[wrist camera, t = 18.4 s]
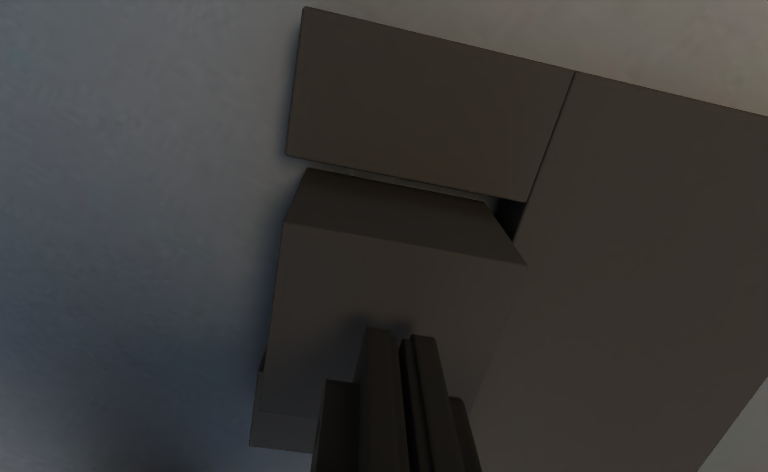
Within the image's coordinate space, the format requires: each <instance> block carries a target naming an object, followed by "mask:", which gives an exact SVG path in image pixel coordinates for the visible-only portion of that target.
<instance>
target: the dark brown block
mask: <svg viewBox="0 0 768 472" xmlns="http://www.w3.org/2000/svg"><path fill="white" fill-rule="evenodd" d="M527 270H528V265H527V263H526V262H525V260H524V259H523V257H522V256H521V254H520V253H519V252H518V250H517V249H516V247H515V246H514V244H513V243H512V241H511V240H510V239H509V237H508V236H507V234H506V233H505V231H504V230H503V228H502V227H501V225H500V224H499V223H498V221H497V220H496V218H495V217H494V215H493V214H492V212H491V211H490V210H489V208H488V207H487V205H486V204H485V202H482V201H477V200H471V199H466V198H461V197H456V196H451V195H446V194H441V193H436V192H431V191H425V190H420V189H415V188H410V187H405V186H400V185H395V184H390V183H384V182H379V181H374V180H369V179H364V178H359V177H354V176H349V175H344V174H338V173H333V172H328V171H323V170H318V169H313V168H307V169H306V171H305V174H304V176H303V178H302V180H301V183H300V185H299V187H298V190H297V192H296V194H295V196H294V199H293V201H292V203H291V205H290V208H289V210H288V212H287V215H286V217H285V219H284V221H283V225H282V232H281V240H280V248H279V256H278V263H277V271H276V279H275V286H274V294H273V302H272V310H271V317H270V325H269V333H268V340H267V348H266V356H265V364H264V371H263V379H262V387H261V394H260V402H259V410H258V411H259V413H265V414H273V415H281V416H289V417H297V418H305V419H312V420H318V415H319V410H320V404H321V399H322V394H323V390H324V385H325V381H326V379H330V380H337V381H344V382H351V383H352V382H353V377H354V373H355V369H356V365H357V361H358V356H359V352H360V348H361V344H362V340H363V335H364V332H365V329H366V327H371V328H377V329H384V330H389V334H390V337H395V338H397V344H398V351H399V347H400V344H401V341H402V339H408V340H409V338H410V336H411V335H412V334H416V335H422V336H429V337H434V338H435V339H436V343H437V347H438V352H439V356H440V361H441V365H442V369H443V374H444V378H445V383H446V387H447V392H448V396H452V397H459V398H461V399H462V400H463V402H464V405H465V408H466V412H467V416H468V417H469V415H470V412H471V410H472V407H473V405H474V402H475V400H476V397H477V395H478V392H479V390H480V387H481V385H482V382H483V380H484V377H485V375H486V372H487V370H488V367H489V365H490V362H491V360H492V357H493V355H494V352H495V350H496V347H497V345H498V342H499V340H500V337H501V335H502V332H503V330H504V327H505V325H506V322H507V320H508V317H509V315H510V312H511V310H512V307H513V305H514V302H515V300H516V297H517V295H518V292H519V290H520V287H521V285H522V282H523V280H524V277H525V275H526V272H527Z"/></svg>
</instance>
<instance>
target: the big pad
mask: <svg viewBox="0 0 768 472" xmlns="http://www.w3.org/2000/svg"><path fill="white" fill-rule="evenodd" d="M285 154H286V155H287V156H290V157H295V158H300V159H305V160H310V161H316V162H321V163H326V164H331V165H336V166H341V167H346V168H351V169H356V170H361V171H366V172H371V173H376V174H381V175H386V176H391V177H397V178H402V179H407V180H412V181H417V182H422V183H427V184H432V185H437V186H442V187H447V188H452V189H457V190H462V191H467V192H472V193H478V194H483V195H488V196H493V197H498V198H503V199H502V201H501V204H500V207H499V210H498V213H497V216H496V220H497V221H498V223H499V224H500V225H501V227H502V228H503V230H504V231H505V233H506V234H507V236H508V237H509V239H510V240H511V241H512V243H513V244H514V246H515V247H516V249H517V250H518V252H519V253H520V254H521V256H522V257H523V259H524V260H525V262H526V263H527V265H528V270H527V272H526V275H525V277H524V280H523V282H522V285H521V287H520V290H519V292H518V295H517V297H516V300H515V302H514V305H513V307H512V310H511V312H510V315H509V317H508V320H507V322H506V325H505V327H504V330H503V332H502V335H501V337H500V340H499V342H498V345H497V347H496V350H495V352H494V355H493V357H492V360H491V362H490V365H489V367H488V370H487V372H486V375H485V377H484V380H483V382H482V385H481V387H480V390H479V392H478V395H477V397H476V400H475V402H474V405H473V407H472V410H471V412H470V415H469V417H468V419H469V423H470V427H471V431H472V435H473V438H474V442H475V446H476V450H477V453H478V457H479V461H480V465H481V469H482V472H697V471H698V470H699V468H700V467H701V466H702V464H703V463H704V462H705V460H706V459H707V457H708V456H709V455H710V453H711V452H712V451H713V449H714V448H715V447H716V445H717V444H718V443H719V441H720V440H721V439H722V437H723V436H724V435H725V433H726V432H727V430H728V429H729V428H730V426H731V425H732V424H733V422H734V421H735V420H736V418H737V417H738V416H739V414H740V413H741V412H742V410H743V409H744V408H745V406H746V405H747V404H748V402H749V401H750V399H751V398H752V397H753V395H754V394H755V393H756V391H757V390H758V389H759V387H760V386H761V385H762V383H763V382H764V381H765V379H766V378H767V377H768V117H767V116H763V115H758V114H754V113H750V112H746V111H742V110H738V109H733V108H729V107H725V106H721V105H717V104H712V103H708V102H704V101H700V100H696V99H692V98H687V97H683V96H679V95H675V94H671V93H666V92H662V91H658V90H654V89H650V88H646V87H641V86H637V85H633V84H629V83H625V82H621V81H616V80H612V79H608V78H604V77H600V76H595V75H591V74H587V73H583V72H579V71H573V70H570V69H566V68H562V67H558V66H554V65H549V64H545V63H541V62H537V61H533V60H529V59H524V58H520V57H516V56H512V55H508V54H504V53H499V52H495V51H491V50H487V49H483V48H478V47H474V46H470V45H466V44H462V43H458V42H453V41H449V40H445V39H441V38H437V37H432V36H428V35H424V34H420V33H416V32H412V31H407V30H403V29H399V28H395V27H391V26H386V25H382V24H378V23H374V22H370V21H366V20H361V19H357V18H353V17H349V16H345V15H341V14H336V13H332V12H328V11H324V10H320V9H315V8H311V7H307V6H306V7H304V8H303V9H302V17H301V26H300V34H299V42H298V50H297V58H296V66H295V74H294V83H293V91H292V99H291V107H290V115H289V123H288V131H287V140H286V148H285ZM266 348H267V345H266ZM266 348H265V351H264V354H263V357H262V360H261V364H260V367H259V370H258V375H257V383H256V392H255V400H254V408H253V416H252V424H251V432H250V440H249V446H252V447H261V448H269V449H278V450H286V451H295V452H303V453H312V454H313V448H314V441H315V434H316V427H317V421H318V420H312V419H305V418H297V417H289V416H281V415H273V414H265V413H259V411H258V410H259V402H260V394H261V387H262V379H263V371H264V364H265V356H266Z"/></svg>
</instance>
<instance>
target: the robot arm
mask: <svg viewBox="0 0 768 472" xmlns="http://www.w3.org/2000/svg"><path fill="white" fill-rule="evenodd" d="M310 472H482V469H481V465H480V461H479V457H478V453H477V450H476V446H475V442H474V438H473V435H472V431H471V427H470V423H469V419H468V416H467V412H466V408H465V405H464V402H463V400H462V399H461V398H459V397H452V396H448V392H447V387H446V383H445V378H444V374H443V369H442V365H441V361H440V356H439V352H438V347H437V343H436V339H435V338H434V337H429V336H422V335H416V334H412V335H411V336H410V338H409V340H408V339H402V341H401V344H400V347H399V351H398V344H397V338H395V337H390V334H389V330H384V329H377V328H371V327H366V329H365V332H364V335H363V340H362V344H361V348H360V352H359V356H358V361H357V365H356V369H355V373H354V377H353V382H352V383H351V382H344V381H337V380H330V379H326V381H325V385H324V390H323V394H322V399H321V404H320V410H319V415H318V421H317V427H316V434H315V441H314V448H313V456H312V464H311V471H310Z"/></svg>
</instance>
